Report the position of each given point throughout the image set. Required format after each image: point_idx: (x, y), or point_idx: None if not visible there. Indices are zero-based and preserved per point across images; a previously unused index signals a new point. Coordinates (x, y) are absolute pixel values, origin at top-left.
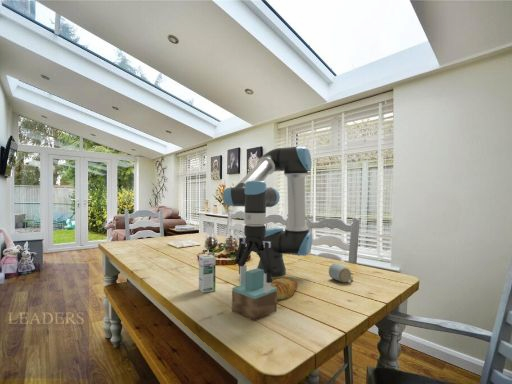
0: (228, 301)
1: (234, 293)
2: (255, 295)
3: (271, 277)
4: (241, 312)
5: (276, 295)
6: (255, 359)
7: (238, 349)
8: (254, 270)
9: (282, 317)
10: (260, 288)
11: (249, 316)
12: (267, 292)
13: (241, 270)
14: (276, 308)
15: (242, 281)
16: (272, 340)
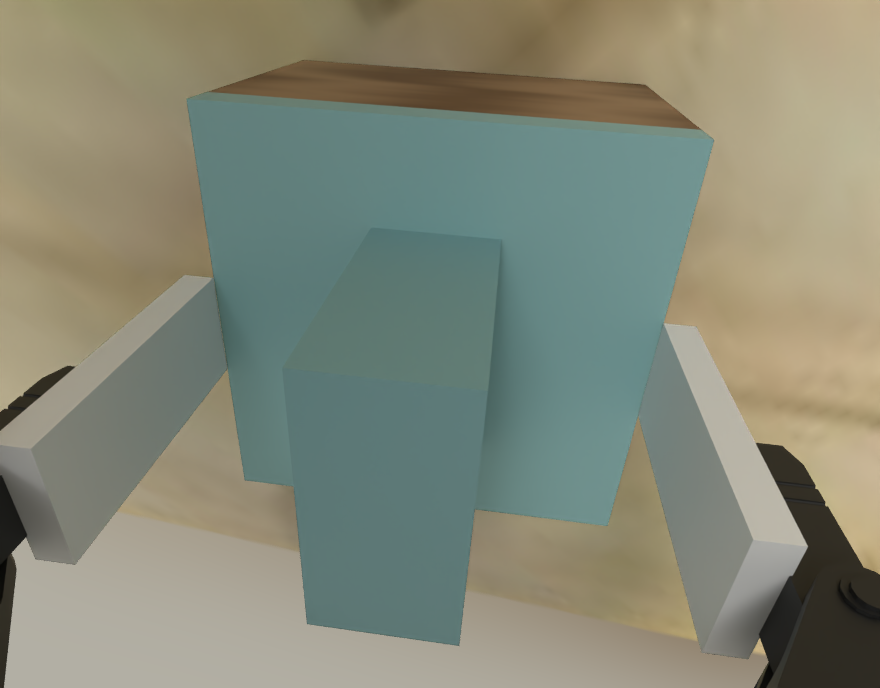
0: (126, 221)
1: None
2: (603, 514)
3: (822, 523)
4: None
5: (683, 119)
6: None
7: (693, 626)
8: (371, 520)
9: (770, 179)
10: (509, 319)
11: None
12: (654, 342)
13: (116, 502)
14: (649, 89)
15: (206, 369)
16: (834, 500)
